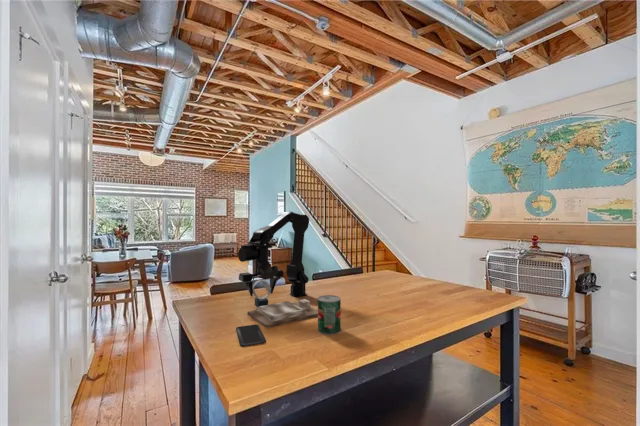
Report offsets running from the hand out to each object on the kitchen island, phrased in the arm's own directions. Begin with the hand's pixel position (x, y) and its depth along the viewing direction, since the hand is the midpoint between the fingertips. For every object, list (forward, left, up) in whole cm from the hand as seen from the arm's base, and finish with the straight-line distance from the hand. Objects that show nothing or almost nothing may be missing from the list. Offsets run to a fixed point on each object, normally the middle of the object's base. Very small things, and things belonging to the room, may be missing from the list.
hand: (261, 294), depth 131 cm
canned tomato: (-8, +39, -5) cm, 40 cm away
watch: (0, 0, -5) cm, 5 cm away
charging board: (-3, +16, -5) cm, 17 cm away
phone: (+16, +28, -5) cm, 33 cm away
